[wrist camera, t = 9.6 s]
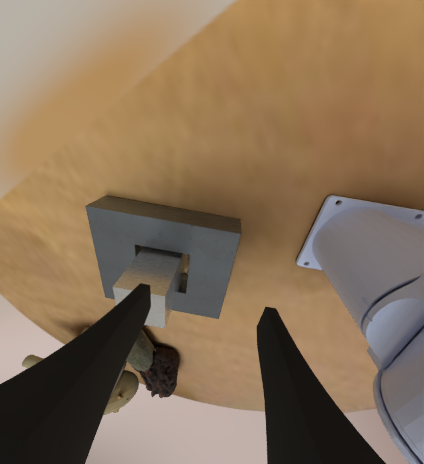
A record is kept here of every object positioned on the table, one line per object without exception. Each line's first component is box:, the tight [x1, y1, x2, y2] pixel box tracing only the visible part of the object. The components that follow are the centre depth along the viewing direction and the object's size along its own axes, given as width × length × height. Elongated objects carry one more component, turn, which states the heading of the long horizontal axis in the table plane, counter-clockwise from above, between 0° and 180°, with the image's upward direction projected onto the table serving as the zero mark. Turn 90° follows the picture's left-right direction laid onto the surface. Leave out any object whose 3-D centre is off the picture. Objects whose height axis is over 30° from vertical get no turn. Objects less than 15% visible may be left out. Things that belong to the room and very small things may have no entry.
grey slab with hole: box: [86, 195, 241, 319], centre depth 20 cm, size 14×12×3 cm
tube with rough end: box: [126, 330, 179, 398], centre depth 30 cm, size 18×7×6 cm, turn 20°
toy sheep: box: [22, 327, 139, 415], centre depth 28 cm, size 11×17×11 cm, turn 70°
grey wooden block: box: [113, 246, 187, 328], centre depth 18 cm, size 4×4×8 cm
